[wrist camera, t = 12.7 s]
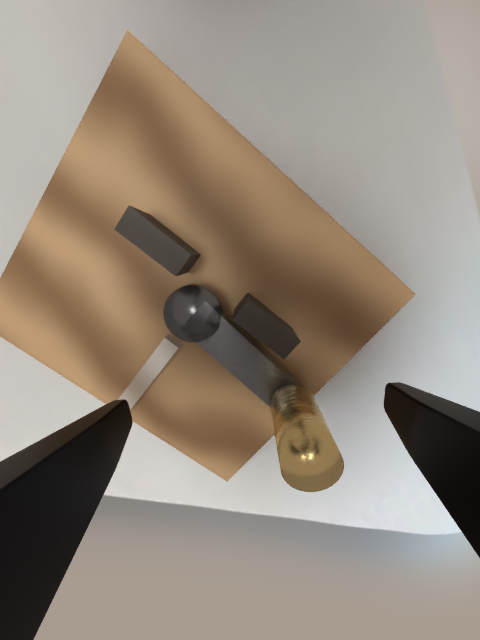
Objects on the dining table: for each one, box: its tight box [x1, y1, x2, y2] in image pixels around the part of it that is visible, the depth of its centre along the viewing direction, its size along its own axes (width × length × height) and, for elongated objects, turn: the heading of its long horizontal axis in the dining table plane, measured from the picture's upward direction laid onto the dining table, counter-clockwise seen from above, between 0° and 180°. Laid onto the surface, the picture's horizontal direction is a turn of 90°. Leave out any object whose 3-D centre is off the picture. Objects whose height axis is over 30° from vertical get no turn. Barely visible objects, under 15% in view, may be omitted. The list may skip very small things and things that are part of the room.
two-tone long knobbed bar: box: [163, 284, 344, 492], centre depth 14 cm, size 12×4×6 cm, turn 46°
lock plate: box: [0, 30, 415, 481], centre depth 16 cm, size 21×23×4 cm
